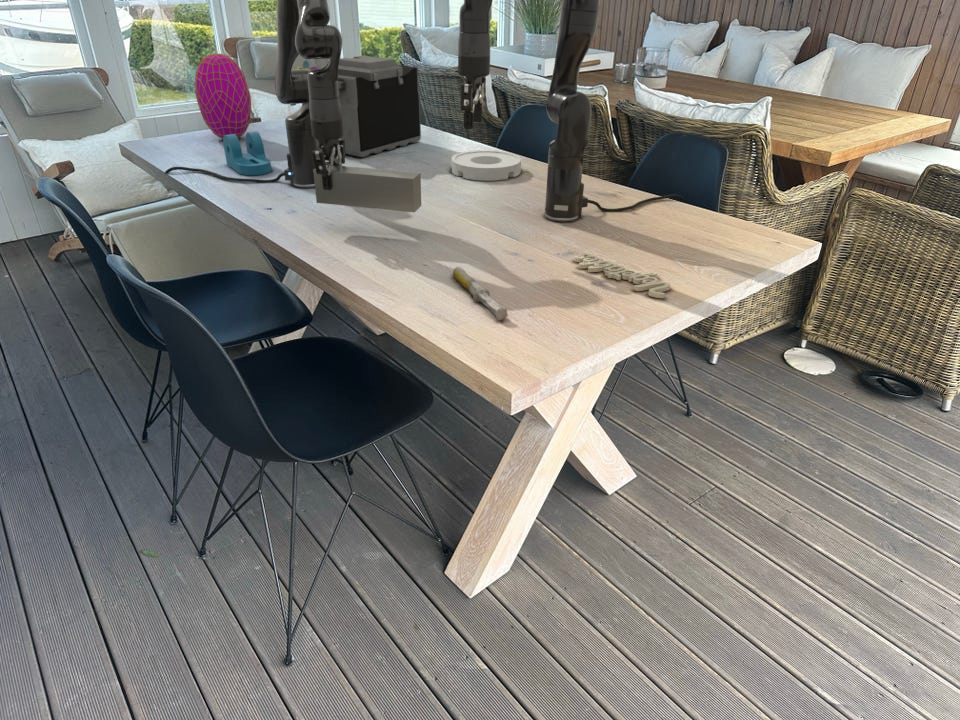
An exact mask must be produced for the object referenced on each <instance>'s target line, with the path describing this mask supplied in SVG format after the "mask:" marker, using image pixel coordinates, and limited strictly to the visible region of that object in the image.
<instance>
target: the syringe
mask: <svg viewBox="0 0 960 720" xmlns="http://www.w3.org/2000/svg"><path fill="white" fill-rule="evenodd" d="M452 274H453V277H454V279H455V280H457V281H458V282H459V283H460V285H462V287H464V289H466V290H467V291H468V293H470V295H471V296H472V298H473V300H474V302H477V303H478V302H480V303H482V304H483V305H484V306H485V307H486V308H487V309H488V310H489V311H490V312H491V313H492V314H493V315H494V316H495V317H496V320H497V321H503V320H504V319H506V318H507V317H509V314H508V310H507V308H506V307H502V306H501V305H500V303H498V302H497V301H496V300H494V299H493V298H492V297H491V296H490V295H491V293H490V290H488V289H486V288H483V287H482V286H481V285H480V284H479V283H478V282H477V281H476V280H474V278H473V277H471V275H469V274H468V273H467V272H466V270H465V269H464V268H463V267H462V266H456V267H454V268H453V271H452Z"/></svg>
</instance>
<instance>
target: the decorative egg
mask: <svg viewBox="0 0 960 720" xmlns="http://www.w3.org/2000/svg"><path fill="white" fill-rule="evenodd" d="M194 81H195V82H194V90H195V98H196V102H197V105H198V109H199V111H200V114H201V117H202V119H203V121H204V123H205V124H206V126H207V127H208V129H209V130H210V131H211V132H212V134H213V135H215V136H216V137H218V138H219V139H222V140H223V137H224V135H230V134H235V135H236V136H237V138H238V139H239V138H241V137H243V135H244V134H246V133H247V130H248V128H249V126H250V123H251V122H250V121H251V118H252V96H251V92H250V89H249V86H248V82H247V79H246V76H245V74H244V72H243V70H242V69H241V67H240V66H239V64H238V63H237V62H236V60H235V59H233V58H231V57H230V55H226V54H222V53H211V54H209V55H208V54H207V55H206V56H204V57H203V58H202V59H201V60H200V61H199V63H198V65H197V68H196V72H195V76H194Z"/></svg>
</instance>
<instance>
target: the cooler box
mask: <svg viewBox="0 0 960 720" xmlns="http://www.w3.org/2000/svg"><path fill="white" fill-rule="evenodd" d="M338 89H339V99H340V104H341V111H342V123H343V137H341V138H339V139H344V140H345V155H348V156H353V157H357V158H362V159H363V158H366V157H367V158H368V157H369V155H371V154H375V155H377V154H381V153H382V152H383V151H391V150H395V149H396V148H397V147H405V146H407V145H408V144H416V143H418V142H419V141H421V137H422V128H421V97H420V92H419V91H420V89H419V68H418V67H417V66H408V65H400V64H396V62H395V60H394V59H393V58H385V57H377V56H367V55H356V56H353V57H350V58H349V57H343V58H342V57H340V60H339V67H338Z"/></svg>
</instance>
